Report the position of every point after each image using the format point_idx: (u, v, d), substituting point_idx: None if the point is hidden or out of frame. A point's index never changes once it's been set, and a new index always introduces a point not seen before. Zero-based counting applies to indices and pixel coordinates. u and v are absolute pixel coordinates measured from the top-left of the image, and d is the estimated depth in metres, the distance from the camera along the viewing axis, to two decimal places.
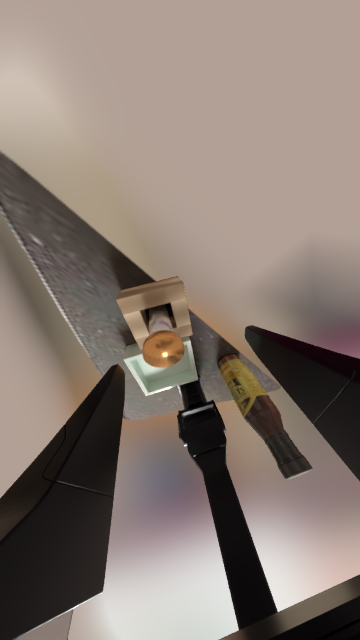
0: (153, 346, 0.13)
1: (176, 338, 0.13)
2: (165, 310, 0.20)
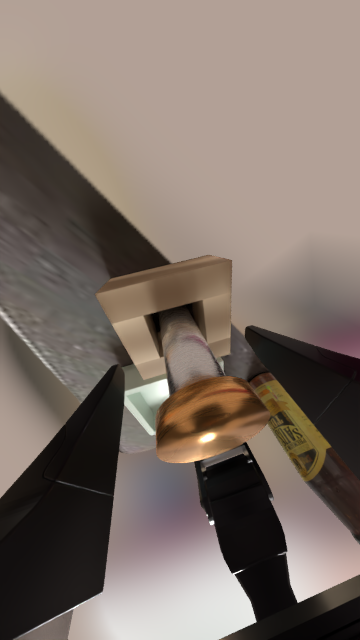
0: (191, 432, 0.04)
1: (259, 405, 0.04)
2: (189, 314, 0.11)
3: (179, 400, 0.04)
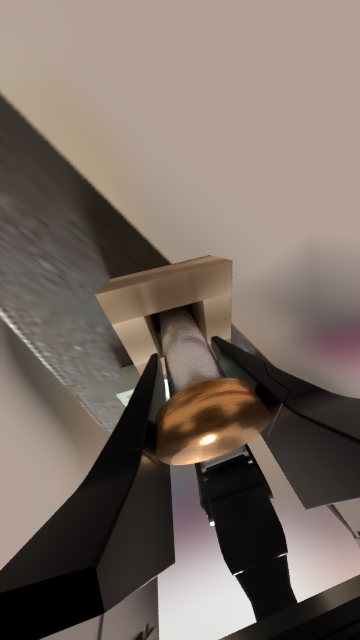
0: (191, 434, 0.04)
1: (260, 407, 0.04)
2: (189, 315, 0.11)
3: (180, 402, 0.04)
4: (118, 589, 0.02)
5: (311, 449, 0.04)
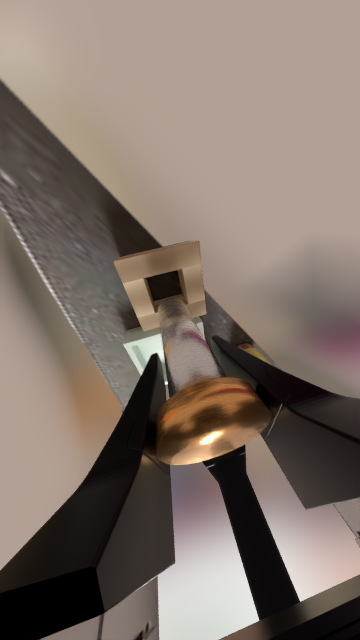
0: (191, 434, 0.04)
1: (260, 407, 0.04)
2: (189, 314, 0.11)
3: (179, 401, 0.04)
4: (118, 589, 0.02)
5: (311, 449, 0.04)
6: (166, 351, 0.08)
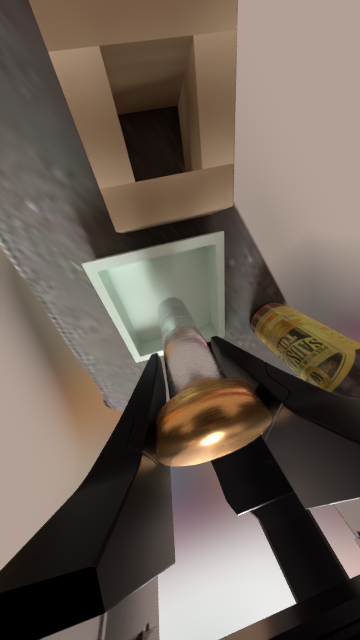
0: (192, 436, 0.04)
1: (261, 408, 0.04)
2: (189, 315, 0.11)
3: (180, 403, 0.04)
4: (119, 588, 0.02)
5: (310, 449, 0.04)
6: (166, 352, 0.08)
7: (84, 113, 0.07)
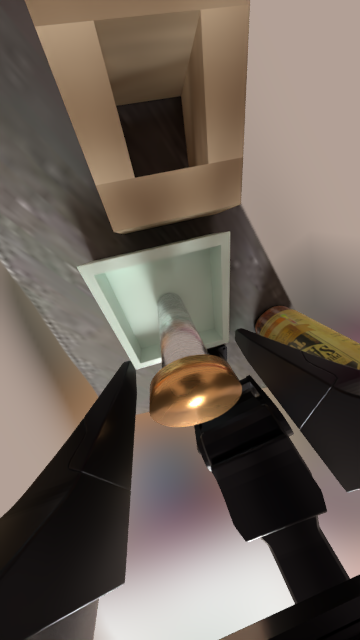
0: (176, 395, 0.06)
1: (230, 376, 0.06)
2: (184, 308, 0.12)
3: (167, 371, 0.06)
4: (9, 633, 0.02)
5: None
6: (162, 338, 0.09)
7: (77, 99, 0.06)
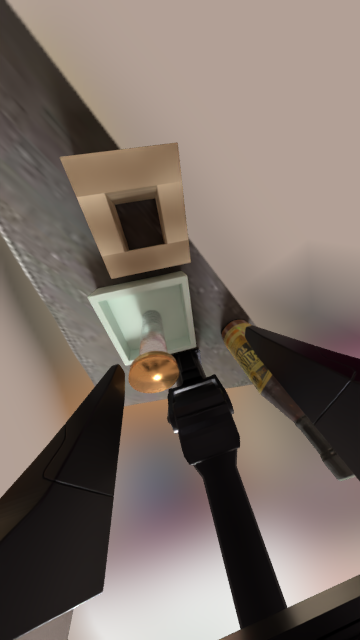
0: (141, 370, 0.11)
1: (169, 361, 0.11)
2: (159, 322, 0.18)
3: (138, 359, 0.11)
4: None
5: None
6: (140, 342, 0.15)
7: (94, 221, 0.12)
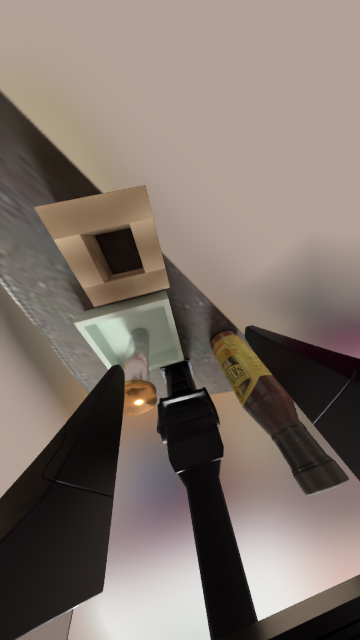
0: None
1: (145, 390, 0.12)
2: (144, 342, 0.19)
3: None
4: None
5: None
6: (124, 365, 0.16)
7: (72, 258, 0.13)
